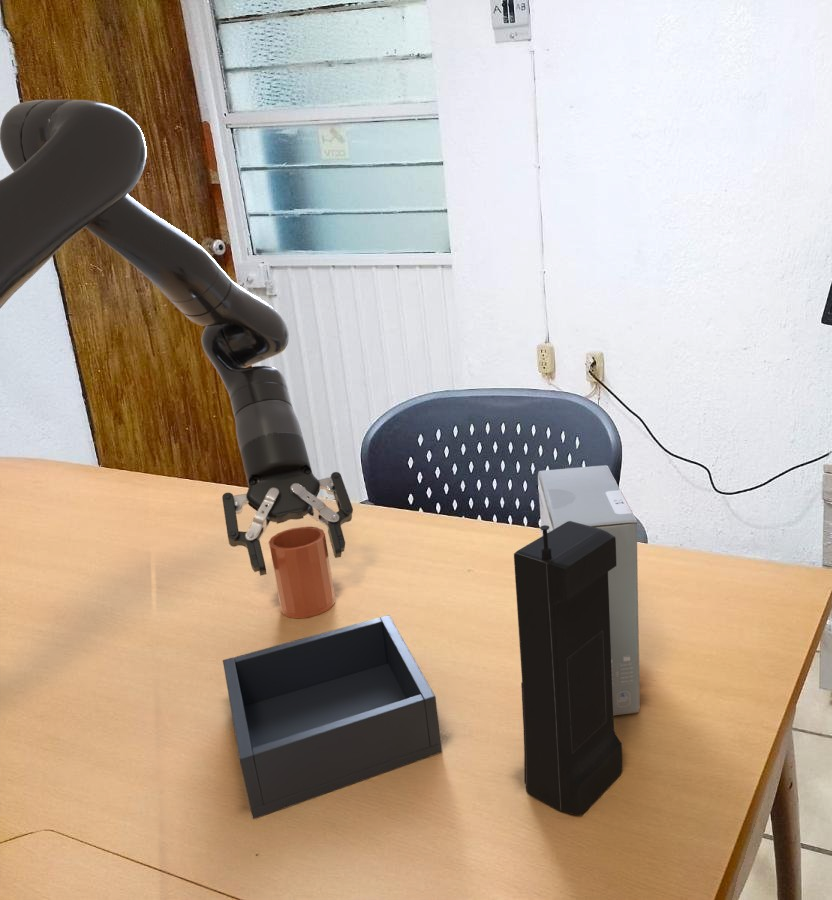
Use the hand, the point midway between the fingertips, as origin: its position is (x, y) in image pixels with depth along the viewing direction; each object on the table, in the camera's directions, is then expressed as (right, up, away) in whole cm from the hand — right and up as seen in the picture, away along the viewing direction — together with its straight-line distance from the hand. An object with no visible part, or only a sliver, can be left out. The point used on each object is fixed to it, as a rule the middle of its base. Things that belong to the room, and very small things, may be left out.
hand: (301, 563), depth 97 cm
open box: (+10, -13, -20) cm, 26 cm away
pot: (0, -5, +3) cm, 6 cm away
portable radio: (+33, -15, -27) cm, 45 cm away
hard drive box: (+34, -10, -12) cm, 38 cm away
